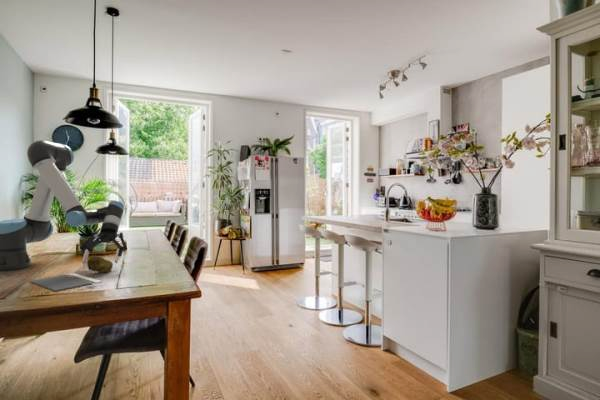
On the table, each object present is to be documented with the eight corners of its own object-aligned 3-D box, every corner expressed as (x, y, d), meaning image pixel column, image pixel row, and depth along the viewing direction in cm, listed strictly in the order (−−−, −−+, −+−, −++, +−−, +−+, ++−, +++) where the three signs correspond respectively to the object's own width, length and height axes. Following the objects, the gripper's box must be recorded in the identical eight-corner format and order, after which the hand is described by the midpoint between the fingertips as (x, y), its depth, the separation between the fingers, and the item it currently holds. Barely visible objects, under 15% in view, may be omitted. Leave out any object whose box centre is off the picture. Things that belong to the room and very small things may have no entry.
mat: (29, 281, 144) (29, 280, 144) (64, 275, 155) (64, 274, 155) (55, 291, 131) (55, 290, 131) (91, 284, 141) (91, 282, 141)
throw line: (68, 274, 156) (68, 274, 156) (74, 273, 158) (74, 273, 158) (96, 283, 143) (96, 282, 143) (102, 281, 145) (102, 281, 145)
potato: (119, 270, 165) (119, 254, 165) (92, 276, 154) (92, 258, 153) (108, 268, 169) (108, 252, 169) (82, 274, 157) (81, 257, 157)
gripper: (138, 230, 179) (130, 265, 164) (85, 231, 173) (72, 267, 159) (135, 221, 173) (127, 256, 159) (80, 221, 168) (66, 258, 154)
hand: (99, 262), depth 159 cm, fingers open, 13 cm apart
